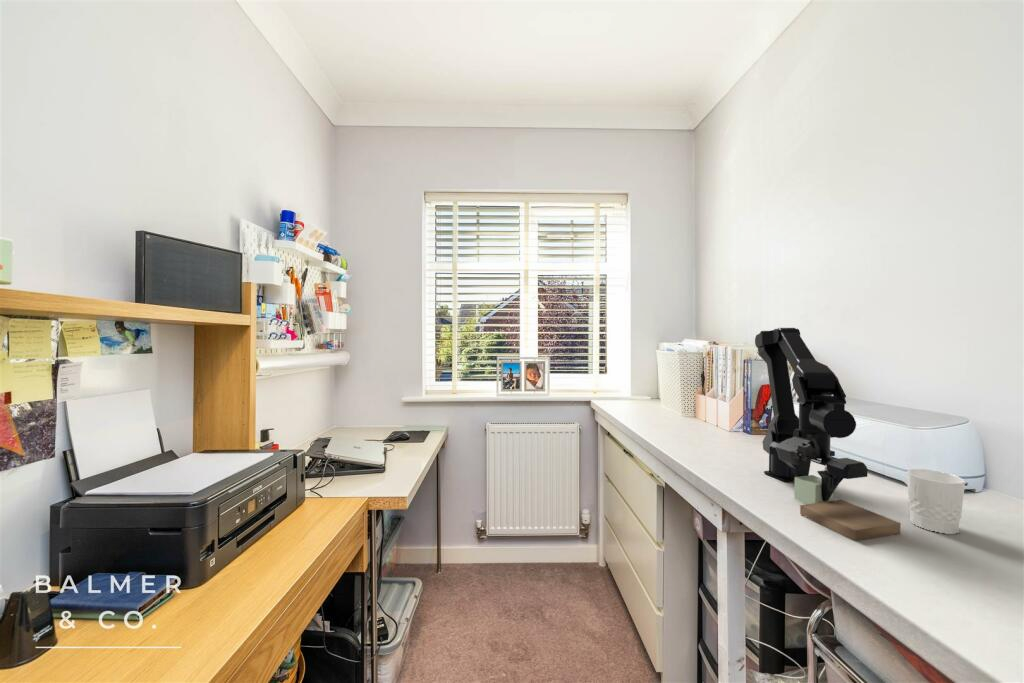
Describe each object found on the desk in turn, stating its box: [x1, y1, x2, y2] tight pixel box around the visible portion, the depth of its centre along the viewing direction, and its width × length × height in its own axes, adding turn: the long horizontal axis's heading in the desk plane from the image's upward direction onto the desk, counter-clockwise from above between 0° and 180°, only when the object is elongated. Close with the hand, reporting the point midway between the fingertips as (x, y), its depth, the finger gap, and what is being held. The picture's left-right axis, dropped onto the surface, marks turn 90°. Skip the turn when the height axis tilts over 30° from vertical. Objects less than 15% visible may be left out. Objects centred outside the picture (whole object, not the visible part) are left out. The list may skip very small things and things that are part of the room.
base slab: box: [799, 499, 901, 542], centre depth 83 cm, size 11×11×2 cm
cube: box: [793, 474, 835, 504], centre depth 93 cm, size 5×5×5 cm
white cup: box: [906, 468, 966, 535], centre depth 81 cm, size 8×8×10 cm
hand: (813, 496), depth 93 cm, fingers closed on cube, 5 cm apart
